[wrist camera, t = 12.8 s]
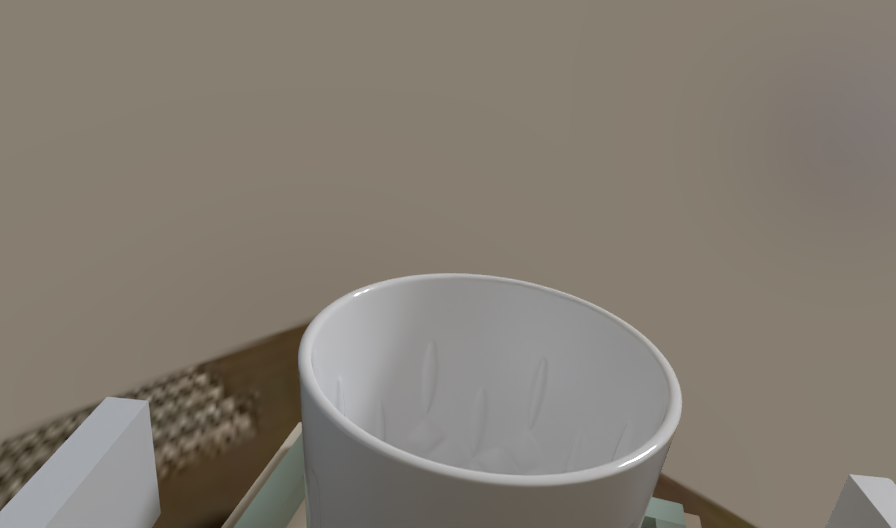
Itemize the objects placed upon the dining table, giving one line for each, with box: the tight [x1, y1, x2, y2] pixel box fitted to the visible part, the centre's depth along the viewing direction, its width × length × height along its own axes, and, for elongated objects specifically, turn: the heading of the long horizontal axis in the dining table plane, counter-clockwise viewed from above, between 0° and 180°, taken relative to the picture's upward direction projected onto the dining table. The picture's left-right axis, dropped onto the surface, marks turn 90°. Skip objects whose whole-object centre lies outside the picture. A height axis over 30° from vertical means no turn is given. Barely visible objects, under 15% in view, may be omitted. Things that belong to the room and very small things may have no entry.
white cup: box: [298, 273, 682, 528], centre depth 15 cm, size 8×8×10 cm
